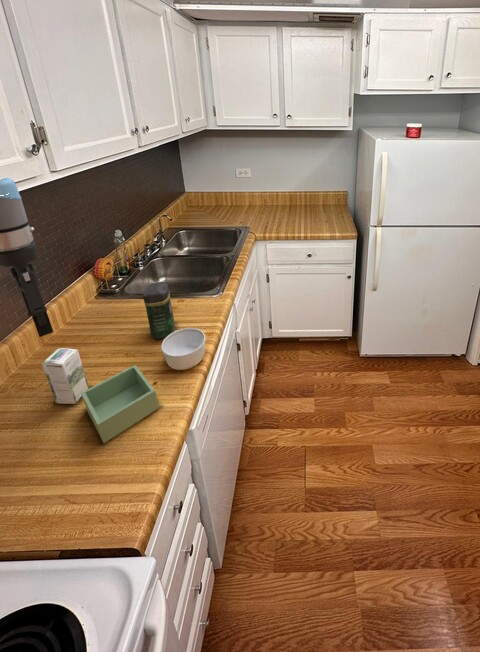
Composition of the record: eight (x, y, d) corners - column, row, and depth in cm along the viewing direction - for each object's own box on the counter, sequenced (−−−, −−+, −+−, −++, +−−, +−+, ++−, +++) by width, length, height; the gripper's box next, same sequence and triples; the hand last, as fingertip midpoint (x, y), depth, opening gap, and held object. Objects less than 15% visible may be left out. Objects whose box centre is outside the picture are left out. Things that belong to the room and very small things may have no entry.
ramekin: (207, 368, 103) (204, 351, 101) (161, 377, 100) (157, 359, 97) (208, 341, 115) (205, 324, 113) (167, 348, 112) (163, 331, 109)
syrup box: (70, 387, 96) (56, 347, 91) (90, 387, 96) (77, 348, 91) (55, 403, 91) (39, 362, 86) (76, 404, 91) (61, 363, 86)
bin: (103, 443, 81) (97, 424, 78) (86, 410, 89) (80, 392, 87) (159, 408, 90) (155, 390, 88) (139, 381, 99) (135, 364, 96)
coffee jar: (174, 337, 117) (166, 292, 110) (150, 342, 114) (139, 296, 108) (176, 321, 125) (169, 278, 118) (153, 325, 123) (144, 281, 116)
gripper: (45, 256, 71) (71, 337, 78) (25, 227, 86) (48, 297, 94) (-2, 268, 66) (30, 353, 73) (-14, 235, 81) (13, 308, 89)
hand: (40, 321), depth 84 cm, fingers open, 13 cm apart
